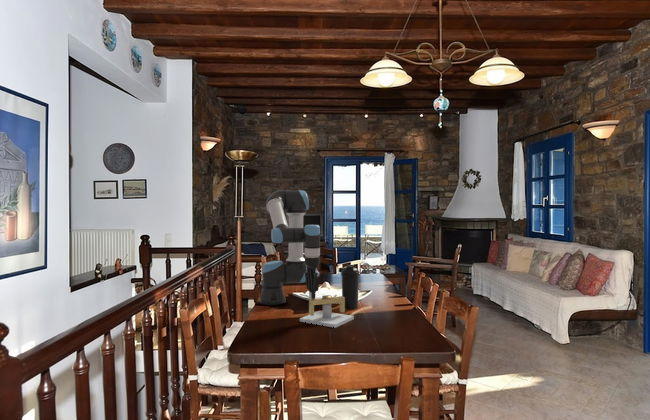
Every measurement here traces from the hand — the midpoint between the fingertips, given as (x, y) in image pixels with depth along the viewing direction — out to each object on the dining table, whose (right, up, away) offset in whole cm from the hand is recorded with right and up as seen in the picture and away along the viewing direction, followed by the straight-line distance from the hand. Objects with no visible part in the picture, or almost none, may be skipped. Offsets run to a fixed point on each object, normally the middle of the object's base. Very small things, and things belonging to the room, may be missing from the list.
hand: (312, 304), depth 215 cm
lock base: (+7, -8, +1) cm, 11 cm away
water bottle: (+20, -8, +27) cm, 35 cm away
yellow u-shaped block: (+7, -5, +1) cm, 9 cm away
